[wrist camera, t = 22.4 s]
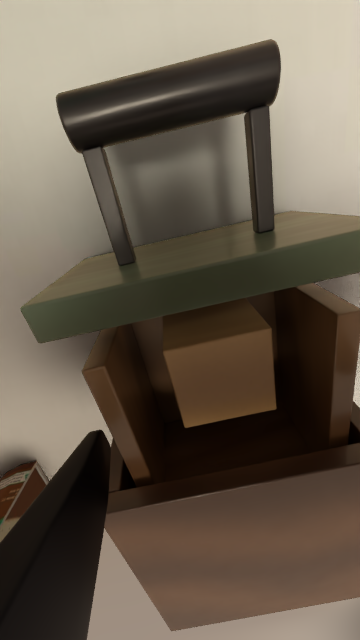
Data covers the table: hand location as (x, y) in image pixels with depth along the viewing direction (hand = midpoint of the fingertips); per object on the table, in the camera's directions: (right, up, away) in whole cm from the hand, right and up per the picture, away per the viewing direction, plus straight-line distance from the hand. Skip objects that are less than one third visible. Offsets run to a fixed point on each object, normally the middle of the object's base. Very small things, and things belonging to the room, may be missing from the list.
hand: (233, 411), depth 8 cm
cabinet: (+1, -5, +11) cm, 12 cm away
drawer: (-1, +4, +5) cm, 7 cm away
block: (0, +2, +5) cm, 6 cm away
